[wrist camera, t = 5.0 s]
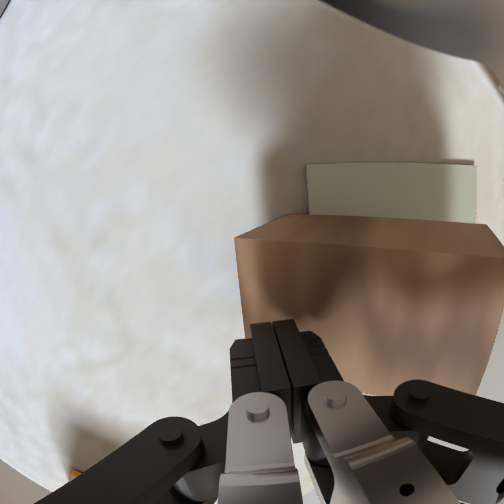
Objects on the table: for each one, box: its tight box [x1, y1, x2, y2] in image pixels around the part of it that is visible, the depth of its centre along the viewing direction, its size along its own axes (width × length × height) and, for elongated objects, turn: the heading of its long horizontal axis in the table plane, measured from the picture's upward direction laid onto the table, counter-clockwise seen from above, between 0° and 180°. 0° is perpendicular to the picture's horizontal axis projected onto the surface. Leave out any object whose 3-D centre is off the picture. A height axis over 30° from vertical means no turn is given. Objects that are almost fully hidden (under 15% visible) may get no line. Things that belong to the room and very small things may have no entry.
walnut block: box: [234, 214, 504, 396], centre depth 12 cm, size 6×5×10 cm
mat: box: [306, 162, 477, 224], centre depth 17 cm, size 11×12×1 cm
